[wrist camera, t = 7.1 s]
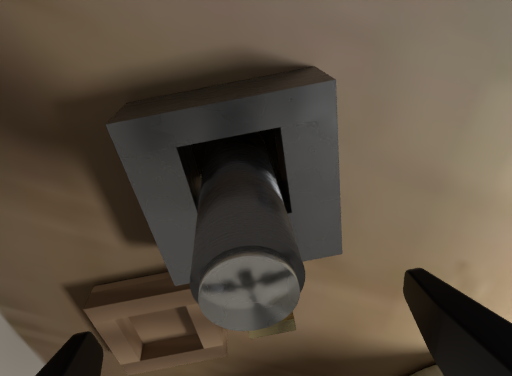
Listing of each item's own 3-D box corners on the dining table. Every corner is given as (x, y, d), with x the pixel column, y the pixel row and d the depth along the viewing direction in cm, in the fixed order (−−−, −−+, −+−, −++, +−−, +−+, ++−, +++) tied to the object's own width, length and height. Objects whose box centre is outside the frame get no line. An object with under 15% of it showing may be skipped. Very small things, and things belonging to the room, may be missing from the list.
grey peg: (270, 174, 19) (314, 325, 10) (213, 185, 19) (205, 345, 10) (261, 118, 17) (304, 240, 8) (197, 130, 17) (171, 265, 8)
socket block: (325, 219, 21) (342, 253, 18) (181, 246, 21) (175, 286, 18) (314, 66, 16) (335, 79, 13) (126, 103, 16) (105, 124, 13)
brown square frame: (227, 333, 26) (227, 356, 25) (134, 351, 26) (128, 375, 25) (203, 265, 22) (201, 286, 21) (93, 286, 22) (83, 309, 21)
